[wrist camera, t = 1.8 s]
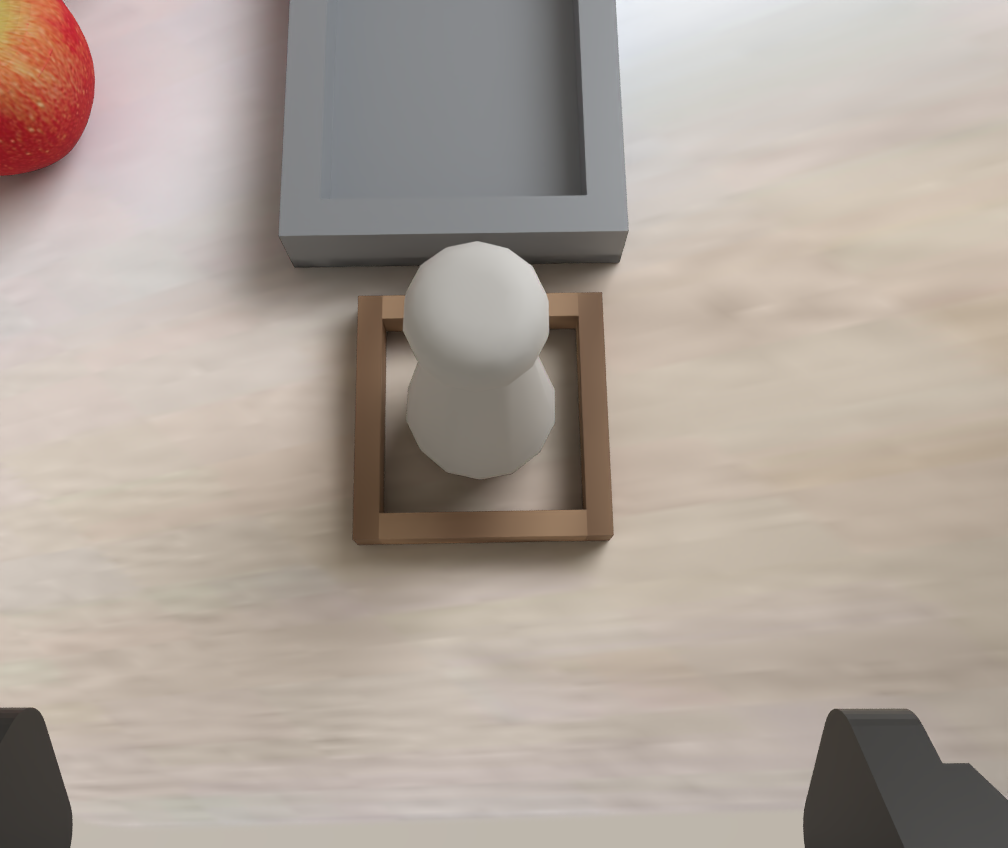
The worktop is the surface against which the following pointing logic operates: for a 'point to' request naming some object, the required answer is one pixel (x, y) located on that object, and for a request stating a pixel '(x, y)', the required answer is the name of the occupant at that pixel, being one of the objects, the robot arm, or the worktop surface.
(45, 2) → the apple
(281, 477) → the worktop surface
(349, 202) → the tray
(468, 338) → the salt shaker
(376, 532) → the wooden square frame
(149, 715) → the worktop surface
